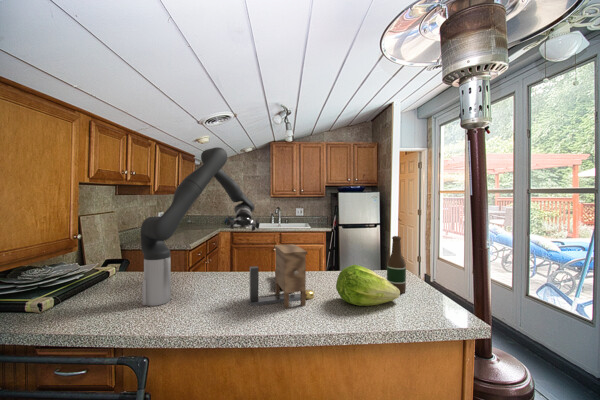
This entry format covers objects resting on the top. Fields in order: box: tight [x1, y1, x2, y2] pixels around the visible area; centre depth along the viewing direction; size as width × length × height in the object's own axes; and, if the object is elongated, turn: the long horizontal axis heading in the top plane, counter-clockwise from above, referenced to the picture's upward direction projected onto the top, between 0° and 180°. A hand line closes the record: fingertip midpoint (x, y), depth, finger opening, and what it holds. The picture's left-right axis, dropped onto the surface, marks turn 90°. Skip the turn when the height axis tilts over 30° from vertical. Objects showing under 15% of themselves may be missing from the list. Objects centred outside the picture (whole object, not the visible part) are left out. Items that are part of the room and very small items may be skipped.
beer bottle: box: [386, 235, 407, 295], centre depth 119 cm, size 8×8×24 cm
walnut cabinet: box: [273, 243, 308, 309], centre depth 109 cm, size 9×18×20 cm, turn 18°
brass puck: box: [306, 289, 315, 301], centre depth 112 cm, size 5×5×2 cm
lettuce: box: [335, 264, 401, 307], centre depth 106 cm, size 15×24×16 cm
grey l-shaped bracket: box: [248, 265, 301, 307], centre depth 108 cm, size 21×4×14 cm, turn 108°
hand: (242, 227), depth 115 cm, fingers open, 8 cm apart
